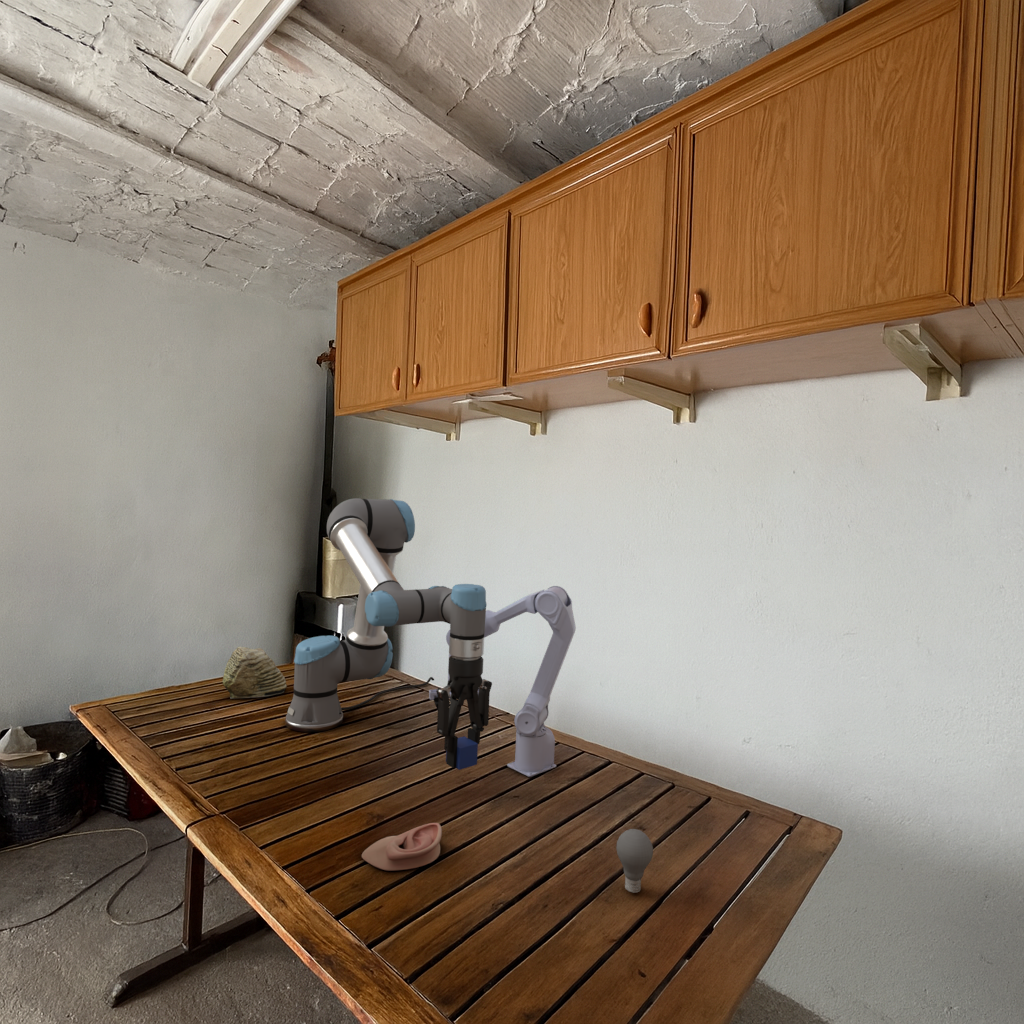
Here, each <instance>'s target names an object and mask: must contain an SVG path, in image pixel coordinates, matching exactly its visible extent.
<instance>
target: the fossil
mask: <svg viewBox="0 0 1024 1024" xmlns="http://www.w3.org/2000/svg"><path fill="white" fill-rule="evenodd" d="M222 676H223V677H222V685H223V687H224V688H225V690H226V691H228V693H229V698H230V699H250V698H264V697H271V696H275V695H281V694H284V693H285V691H286V689H287V687H288V686H287V680H286V678H285V676H284V674H283V673H282V672H281V669H279V668H278V667H277V665H276V663H275V662H274V660H273V659H272V658H271V657H270V656H269V655H268V654H267V653H266V652H265V650H264V649H263V648H260V647H258V648H251V647H247V646H246V647H245V646H238V647H237V648H236V649H235V650H233V651H232V653H231V656H230V657H229V659H228V660H227V663H226V666H225V668H224V671H223V675H222Z"/></svg>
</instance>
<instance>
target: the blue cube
mask: <svg viewBox="0 0 1024 1024" xmlns="http://www.w3.org/2000/svg"><path fill="white" fill-rule="evenodd" d="M478 750H479V744H478V743H476V742H474V741H472V740H470V739H468V736H460V737H458V742H457V763H456V767H455V768H454V769H457V770H459V771H460V770H463V769H468V768H471V767H473V766H476V765H478ZM446 758H447V751H445V759H446Z"/></svg>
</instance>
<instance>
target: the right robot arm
mask: <svg viewBox="0 0 1024 1024" xmlns="http://www.w3.org/2000/svg"><path fill="white" fill-rule="evenodd" d="M524 613H529V614H533V615H536V614H537V613H538V614H539V615H540V616H541V617H542V618H543V619H544V620H545V621H546V622H547V623H548V625H549V627H550V628H551V631H552V634H551V637H550V640H549V641H548V645H547V647H546V650H545V652H544V655H543V658H542V661H541V664H540V666H539V668H538V671H537V674H536V677H535V678H534V681H533V683H532V686H531V690H530V692H529V694H528V695H527V697H526V700H525V701H524V704H523V706H522V707H521V709H520V710H518V711H517V712H516V714H515V716H514V720H513V721H514V722H513V723H514V727H515V729H516V730H515V750H514V752H515V753H514V761H512V762H509V763H507V764H506V766H507V767H508V768H510V769H512V770H513V771H516V772H518V773H520V774H522V775H524V776H526V777H528V778H532V777H534V776H537V775H540V774H542V773H545V772H547V771H550V770H552V769H556V768H557V764H556V763H555V752H556V751H555V748H556V739H555V735H554V732H553V731H552V729H550V728H549V727H547V726H546V725H545V722H546V720H547V719H548V717H549V714H550V713H549V704H550V702H551V695H552V692H553V690H554V688H555V685H556V682H557V680H558V677H559V675H560V672H561V669H562V666H563V665H564V661H565V659H566V657H567V654H568V652H569V648H570V646H571V643H572V640H573V639H574V636H575V633H576V629H577V627H576V621H575V616H574V615H575V614H574V611H573V601H572V598H571V597H570V595H569V594H568V592H567V590H565V588H563V587H562V586H559V585H552V586H549V587H548V588H547V589H542V590H538V591H535V592H532V593H529V594H527V595H525V596H523V597H521V598H519V599H517V600H516V601H514V602H512V603H509V604H508V605H506V606H505V607H502V608H501V609H498V610H497V611H492V610H490V609H486V616H485V633H484V639H485V638H487V637H489V636H491V635H493V634H495V633H497V632H498V631H499V630H500V626H501V624H504V623H506V622H507V621H509V620H511V619H514V618H516V617H518V616H520V615H522V614H524ZM445 636H446V637H445V640H446V644H447V645H448V646H449V642H450V629H449V630H448V631H447V633H446V635H445ZM450 656H451V655H450V654H449V653H448V658H449V657H450ZM447 664H448V666H447V667H449V663H447ZM449 678H450V676H449V672H448V671H447V682H448V681H449ZM437 689H438V688H437ZM437 689H436V688H435V689H429V690H428V699H429V700H430V701H433V702H434V705H435V707H436V710H437V712H438V696H437V692H436V691H437ZM450 697H451V692H450ZM450 697H449V699H450ZM478 697H479V689H478ZM469 723H470V724H469V725H470V726H471V722H469Z"/></svg>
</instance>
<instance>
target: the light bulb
mask: <svg viewBox="0 0 1024 1024" xmlns="http://www.w3.org/2000/svg"><path fill="white" fill-rule="evenodd" d="M615 849H616V854H617V857H618V859H619V861H620V863H621V865H622V867H623V873H624V874H623V875H624V876H625V878H624V888H625V890H627V891H628V892H630V893H634V894H635V893H639V892H640V891H641V889H642V887H641V886H642V879H643V877H644V875H645V871H646V868H647V867H648V866H649V864H650V863H651V861H652V859H653V855H654V847H653V843H652V841H651V838H649V836H648V835H647V834H646V833H645V832H643V831H642V830H641V829H636V828H629V829H627V830H625V831H623V832H622V833H621V834H620V835H619V837H618V839H617V841H616V847H615Z"/></svg>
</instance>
